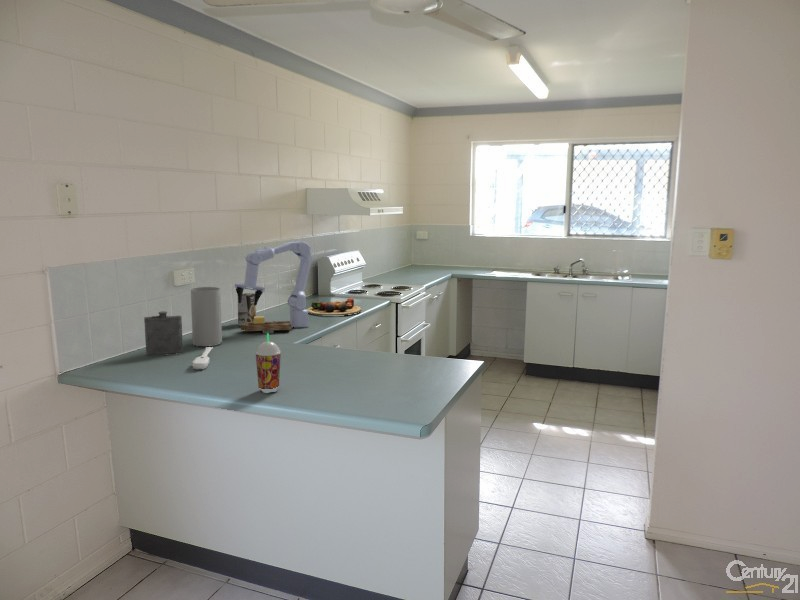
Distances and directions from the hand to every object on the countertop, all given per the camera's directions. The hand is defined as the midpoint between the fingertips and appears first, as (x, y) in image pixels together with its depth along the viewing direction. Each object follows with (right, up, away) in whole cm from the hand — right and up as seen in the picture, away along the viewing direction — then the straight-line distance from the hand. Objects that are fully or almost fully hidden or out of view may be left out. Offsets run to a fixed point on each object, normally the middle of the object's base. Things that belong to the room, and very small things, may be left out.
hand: (247, 304), depth 287 cm
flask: (-24, -21, -43) cm, 53 cm away
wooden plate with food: (+36, -6, +60) cm, 70 cm away
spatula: (-3, -23, -53) cm, 58 cm away
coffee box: (-5, -11, +19) cm, 23 cm away
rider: (+5, -11, +2) cm, 12 cm away
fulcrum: (+9, -14, +3) cm, 17 cm away
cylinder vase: (-12, -18, -24) cm, 32 cm away
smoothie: (+30, -29, -88) cm, 98 cm away
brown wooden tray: (+8, -12, +3) cm, 15 cm away
